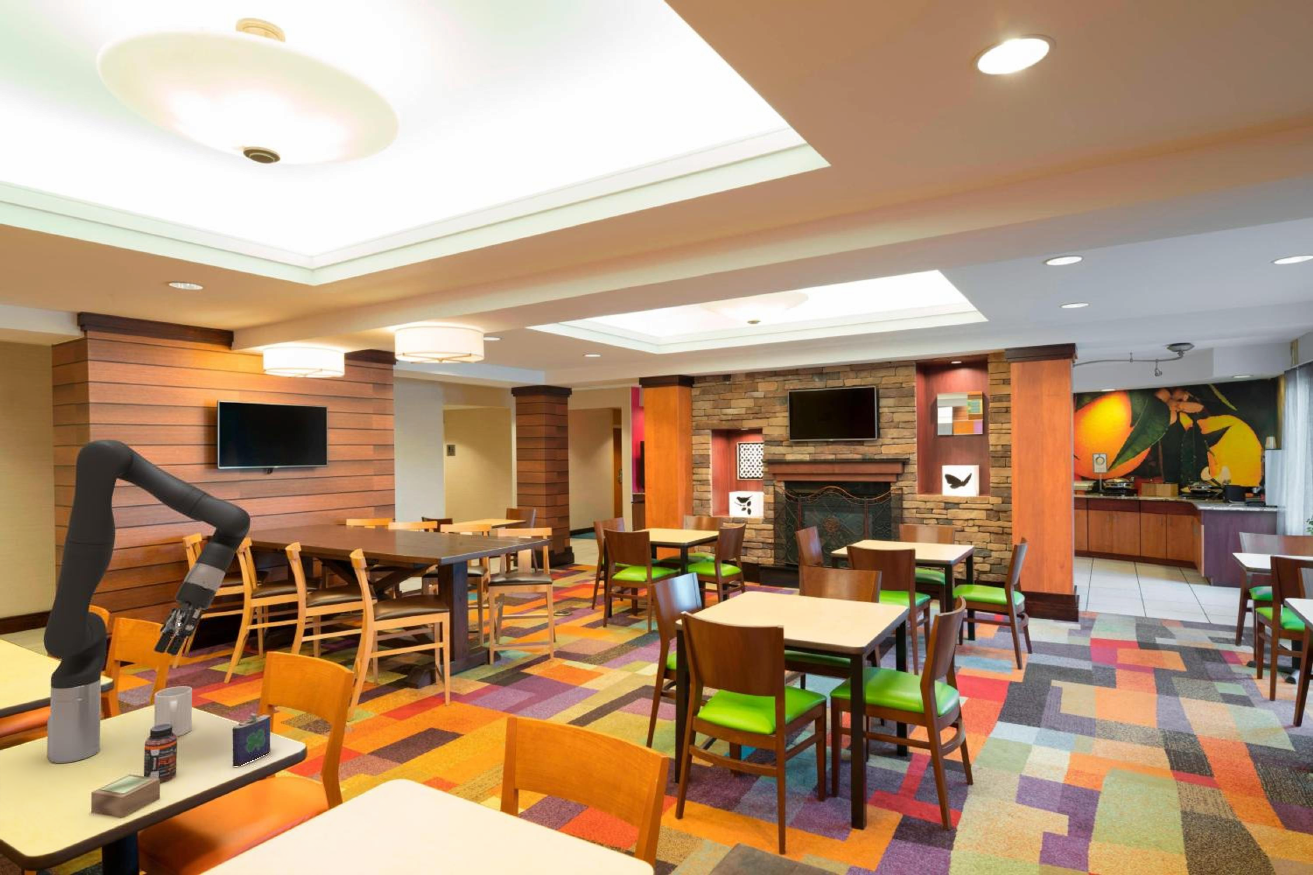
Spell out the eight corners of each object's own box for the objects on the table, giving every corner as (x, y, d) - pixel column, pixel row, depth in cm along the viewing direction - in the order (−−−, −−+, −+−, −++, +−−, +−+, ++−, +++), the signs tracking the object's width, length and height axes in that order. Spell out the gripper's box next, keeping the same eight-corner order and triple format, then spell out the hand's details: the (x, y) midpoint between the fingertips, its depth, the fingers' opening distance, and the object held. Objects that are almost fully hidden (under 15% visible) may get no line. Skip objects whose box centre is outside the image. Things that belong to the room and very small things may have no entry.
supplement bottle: (159, 785, 153) (160, 733, 153) (136, 783, 154) (137, 731, 154) (183, 773, 159) (183, 722, 159) (161, 770, 160) (161, 720, 160)
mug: (154, 730, 182) (155, 689, 182) (191, 723, 187) (191, 684, 187) (153, 747, 172) (154, 704, 172) (192, 740, 177) (192, 697, 177)
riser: (91, 812, 142) (91, 791, 142) (129, 793, 150) (130, 773, 150) (122, 817, 140) (122, 796, 140) (159, 797, 148) (160, 777, 148)
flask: (265, 750, 171) (266, 705, 171) (274, 752, 170) (274, 707, 170) (229, 766, 163) (229, 719, 163) (238, 768, 161) (238, 721, 161)
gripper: (174, 580, 173) (137, 646, 165) (195, 579, 164) (157, 649, 156) (205, 591, 177) (170, 656, 170) (227, 591, 169) (192, 659, 161)
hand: (164, 653), depth 163 cm, fingers open, 8 cm apart
